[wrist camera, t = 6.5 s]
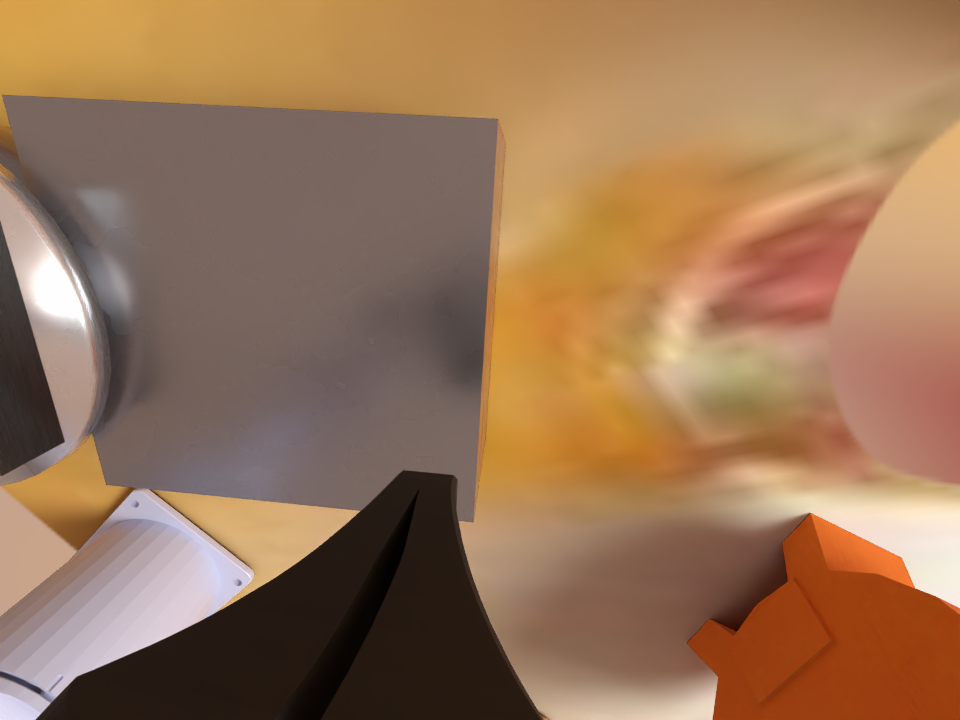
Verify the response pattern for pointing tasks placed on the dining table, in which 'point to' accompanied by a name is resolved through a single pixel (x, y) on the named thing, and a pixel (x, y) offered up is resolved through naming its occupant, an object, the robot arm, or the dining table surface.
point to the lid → (45, 340)
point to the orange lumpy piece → (838, 640)
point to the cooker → (278, 289)
